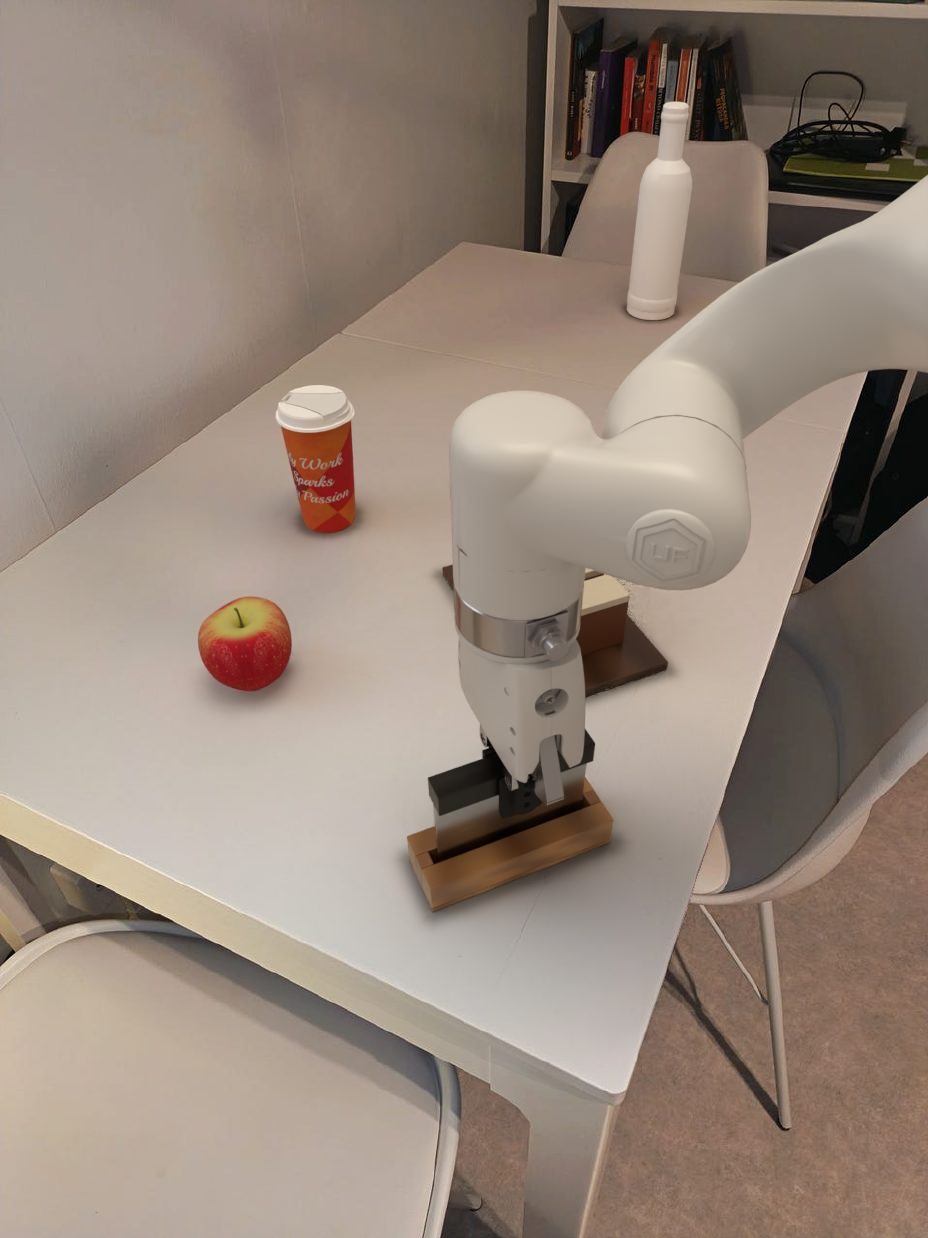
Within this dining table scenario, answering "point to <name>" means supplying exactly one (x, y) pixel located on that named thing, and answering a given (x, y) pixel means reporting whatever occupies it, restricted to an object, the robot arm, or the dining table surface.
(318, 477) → the coffee cup
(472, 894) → the knife block
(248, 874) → the dining table surface
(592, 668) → the cake
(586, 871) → the dining table surface
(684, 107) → the bottle
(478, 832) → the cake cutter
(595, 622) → the cake slice
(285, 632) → the apple
